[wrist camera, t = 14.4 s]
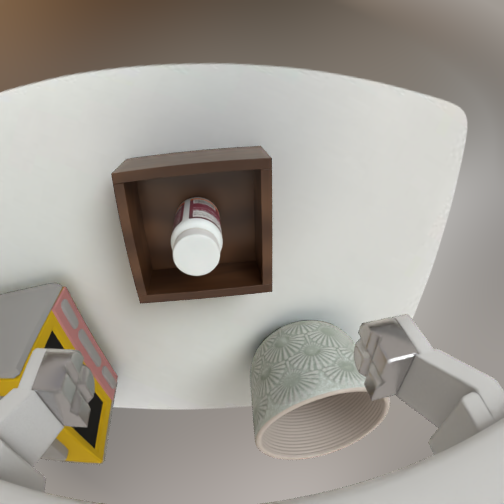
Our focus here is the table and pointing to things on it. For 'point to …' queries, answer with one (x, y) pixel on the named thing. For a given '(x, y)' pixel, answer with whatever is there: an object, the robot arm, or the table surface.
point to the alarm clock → (57, 337)
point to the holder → (230, 211)
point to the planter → (310, 393)
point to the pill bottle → (196, 237)
